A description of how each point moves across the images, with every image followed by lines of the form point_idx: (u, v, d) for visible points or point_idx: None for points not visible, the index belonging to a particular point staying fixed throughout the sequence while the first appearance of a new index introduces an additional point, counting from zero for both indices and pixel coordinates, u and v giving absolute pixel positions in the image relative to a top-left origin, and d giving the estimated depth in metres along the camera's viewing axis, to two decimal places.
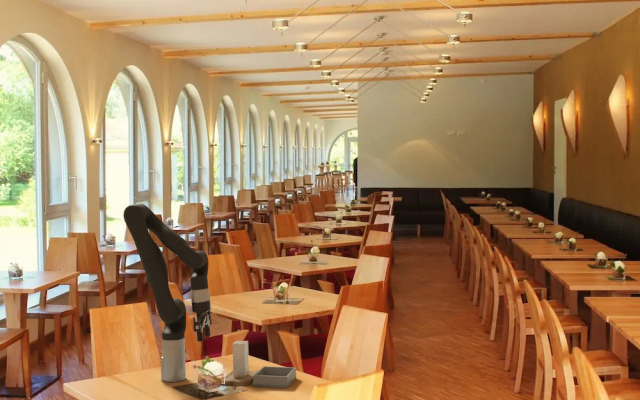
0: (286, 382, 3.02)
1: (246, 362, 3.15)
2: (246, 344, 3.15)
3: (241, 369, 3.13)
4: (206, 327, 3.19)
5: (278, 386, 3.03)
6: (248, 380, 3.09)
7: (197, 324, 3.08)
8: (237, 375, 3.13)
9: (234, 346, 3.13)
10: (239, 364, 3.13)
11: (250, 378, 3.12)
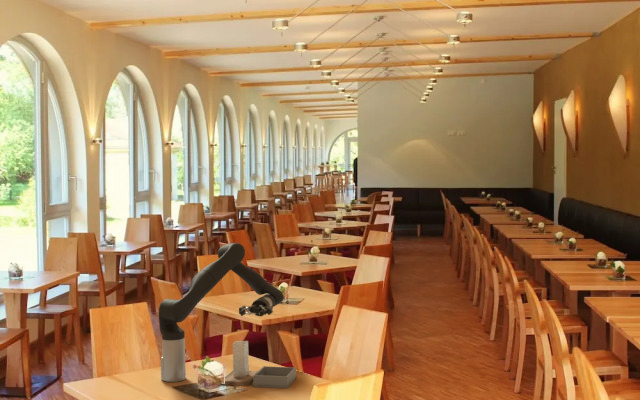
0: (286, 382, 3.02)
1: (246, 362, 3.15)
2: (246, 344, 3.15)
3: (241, 369, 3.13)
4: (244, 311, 3.33)
5: (278, 386, 3.03)
6: (248, 380, 3.09)
7: (271, 311, 3.35)
8: (237, 375, 3.13)
9: (234, 346, 3.13)
10: (239, 364, 3.13)
11: (250, 378, 3.12)
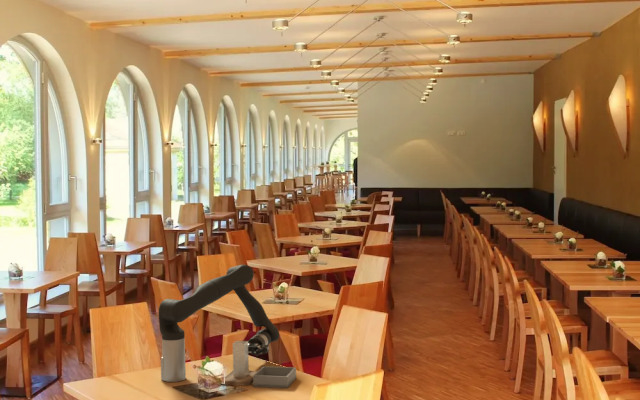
0: (286, 382, 3.02)
1: (246, 362, 3.15)
2: (246, 344, 3.15)
3: (241, 369, 3.13)
4: None
5: (278, 386, 3.03)
6: (248, 380, 3.09)
7: (267, 350, 3.29)
8: (237, 375, 3.13)
9: (234, 346, 3.13)
10: (239, 364, 3.13)
11: (250, 378, 3.12)
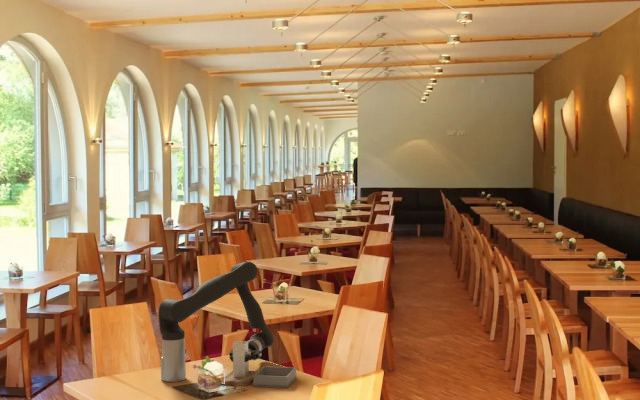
0: (286, 382, 3.02)
1: (246, 362, 3.14)
2: (246, 344, 3.15)
3: (241, 369, 3.13)
4: None
5: (278, 386, 3.03)
6: (248, 380, 3.09)
7: (258, 356, 3.18)
8: (237, 375, 3.13)
9: (234, 346, 3.13)
10: (239, 364, 3.13)
11: (250, 378, 3.12)
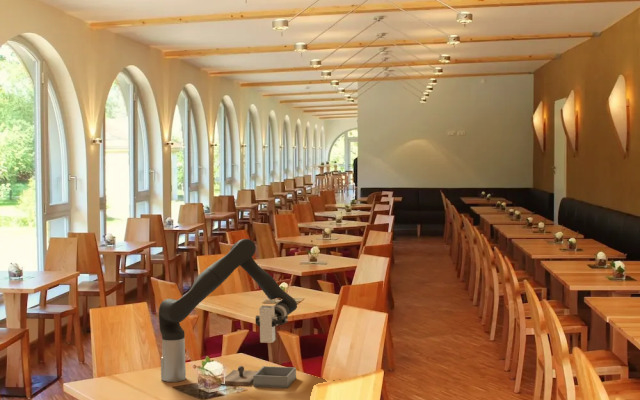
0: (286, 382, 3.02)
1: (273, 327, 3.11)
2: (273, 309, 3.11)
3: (268, 334, 3.09)
4: None
5: (278, 386, 3.03)
6: (248, 380, 3.09)
7: (284, 321, 3.14)
8: (264, 340, 3.09)
9: (261, 311, 3.09)
10: (266, 329, 3.09)
11: (250, 378, 3.12)
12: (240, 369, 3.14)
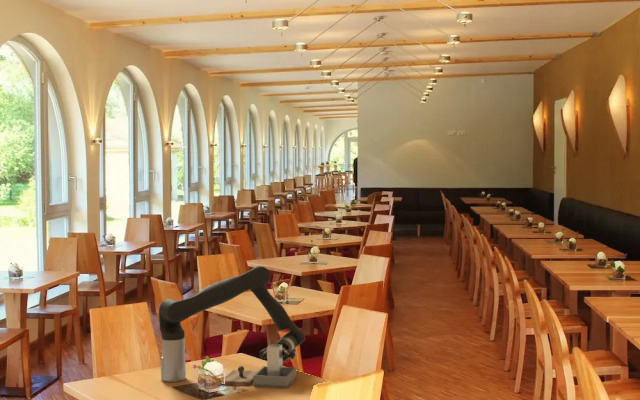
0: (286, 382, 3.02)
1: (280, 366, 3.10)
2: (280, 348, 3.10)
3: (276, 373, 3.08)
4: (266, 355, 3.13)
5: (278, 386, 3.03)
6: (248, 380, 3.09)
7: (294, 355, 3.14)
8: None
9: (268, 350, 3.08)
10: (273, 368, 3.08)
11: (250, 378, 3.12)
12: (240, 369, 3.14)
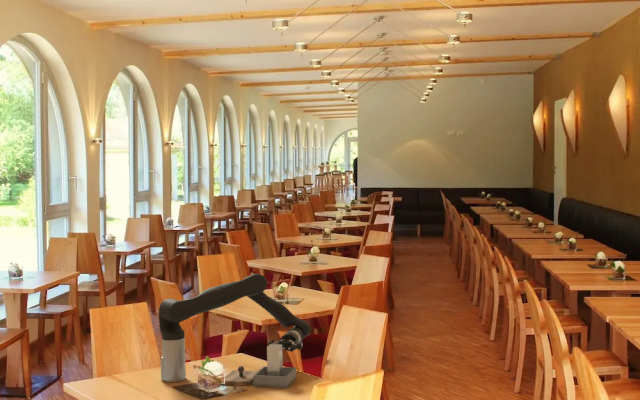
0: (286, 382, 3.02)
1: (280, 366, 3.10)
2: (280, 348, 3.10)
3: (276, 373, 3.08)
4: None
5: (278, 386, 3.03)
6: (248, 380, 3.09)
7: (301, 346, 3.27)
8: None
9: (268, 350, 3.08)
10: (273, 368, 3.08)
11: (250, 378, 3.12)
12: (240, 369, 3.14)
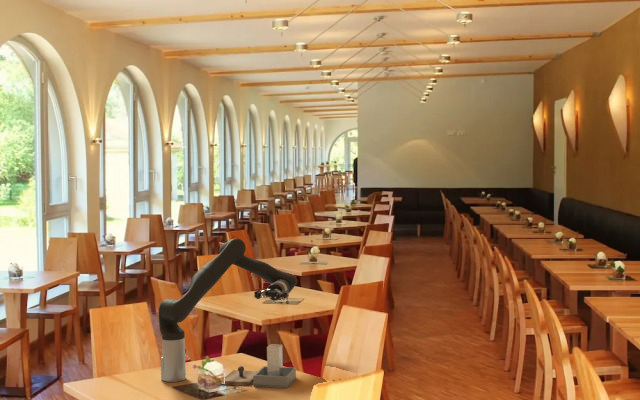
0: (286, 382, 3.02)
1: (280, 366, 3.10)
2: (280, 348, 3.10)
3: (276, 373, 3.08)
4: (260, 295, 3.30)
5: (278, 386, 3.03)
6: (248, 380, 3.09)
7: (287, 295, 3.31)
8: None
9: (268, 350, 3.08)
10: (273, 368, 3.08)
11: (250, 378, 3.12)
12: (240, 369, 3.14)
